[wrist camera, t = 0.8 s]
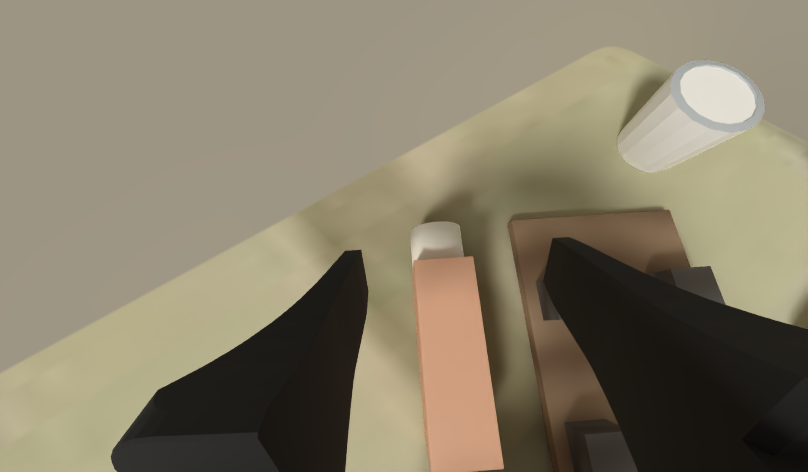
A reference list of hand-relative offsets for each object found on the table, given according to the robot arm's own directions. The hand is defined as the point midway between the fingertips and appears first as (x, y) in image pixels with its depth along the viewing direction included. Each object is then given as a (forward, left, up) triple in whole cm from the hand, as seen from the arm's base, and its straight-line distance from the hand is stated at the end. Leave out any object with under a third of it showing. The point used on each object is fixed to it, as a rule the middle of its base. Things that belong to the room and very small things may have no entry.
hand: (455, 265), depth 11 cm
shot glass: (+13, -23, -14) cm, 30 cm away
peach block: (-2, -1, -14) cm, 14 cm away
